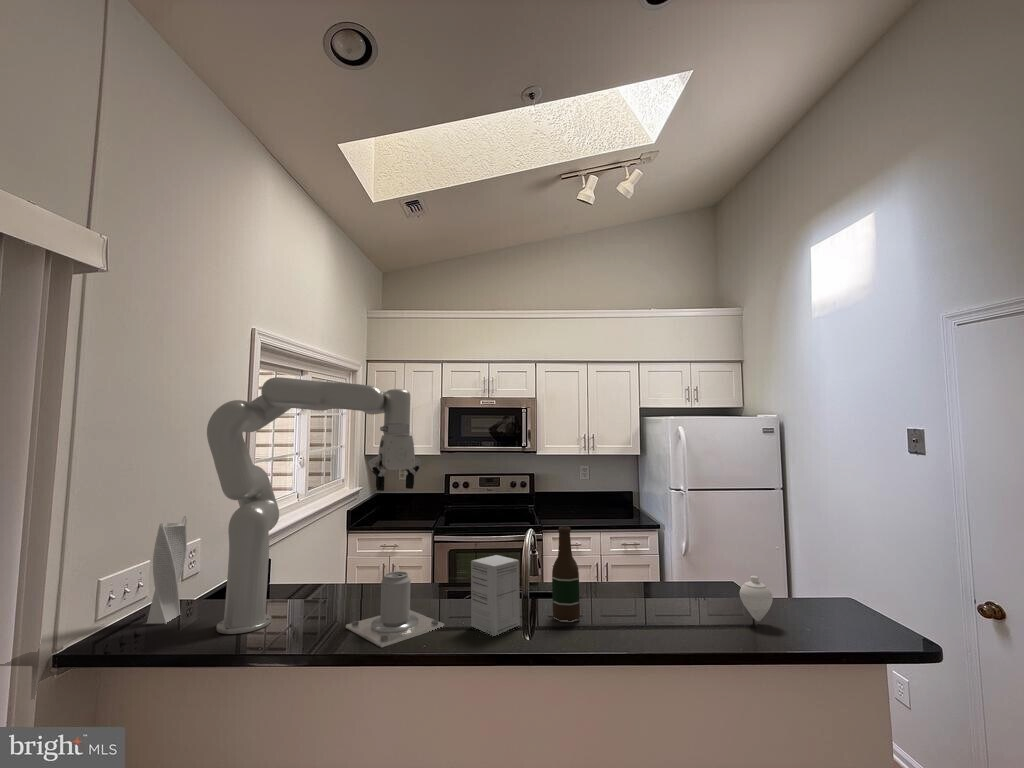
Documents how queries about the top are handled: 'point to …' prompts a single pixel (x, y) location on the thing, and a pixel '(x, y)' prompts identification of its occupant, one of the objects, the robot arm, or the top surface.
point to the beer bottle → (565, 580)
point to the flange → (393, 629)
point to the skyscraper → (168, 571)
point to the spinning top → (756, 598)
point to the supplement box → (495, 594)
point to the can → (395, 598)
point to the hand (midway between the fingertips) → (395, 489)
